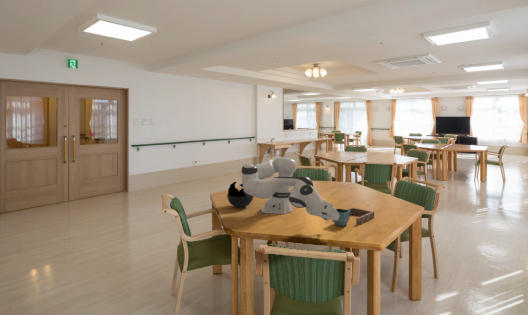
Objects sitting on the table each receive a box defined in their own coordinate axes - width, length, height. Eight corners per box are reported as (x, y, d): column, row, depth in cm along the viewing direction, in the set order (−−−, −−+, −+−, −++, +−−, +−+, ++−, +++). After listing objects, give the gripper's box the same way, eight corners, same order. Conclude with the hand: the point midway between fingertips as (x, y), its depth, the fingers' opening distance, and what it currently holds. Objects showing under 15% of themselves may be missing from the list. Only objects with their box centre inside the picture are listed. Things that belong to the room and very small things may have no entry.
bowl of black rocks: (257, 209, 240) (256, 184, 238) (230, 211, 234) (229, 186, 232) (249, 203, 259) (249, 179, 257) (224, 205, 253) (224, 181, 251)
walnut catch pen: (358, 224, 203) (358, 218, 202) (335, 219, 214) (335, 213, 214) (374, 217, 218) (374, 211, 218) (351, 213, 229) (352, 207, 229)
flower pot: (337, 221, 210) (337, 208, 209) (350, 224, 204) (350, 210, 203) (331, 225, 203) (331, 210, 202) (344, 227, 197) (344, 213, 196)
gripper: (300, 207, 189) (310, 220, 197) (330, 214, 175) (340, 227, 183) (305, 198, 192) (314, 211, 200) (335, 204, 178) (344, 218, 186)
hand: (327, 219), depth 191 cm, fingers closed
